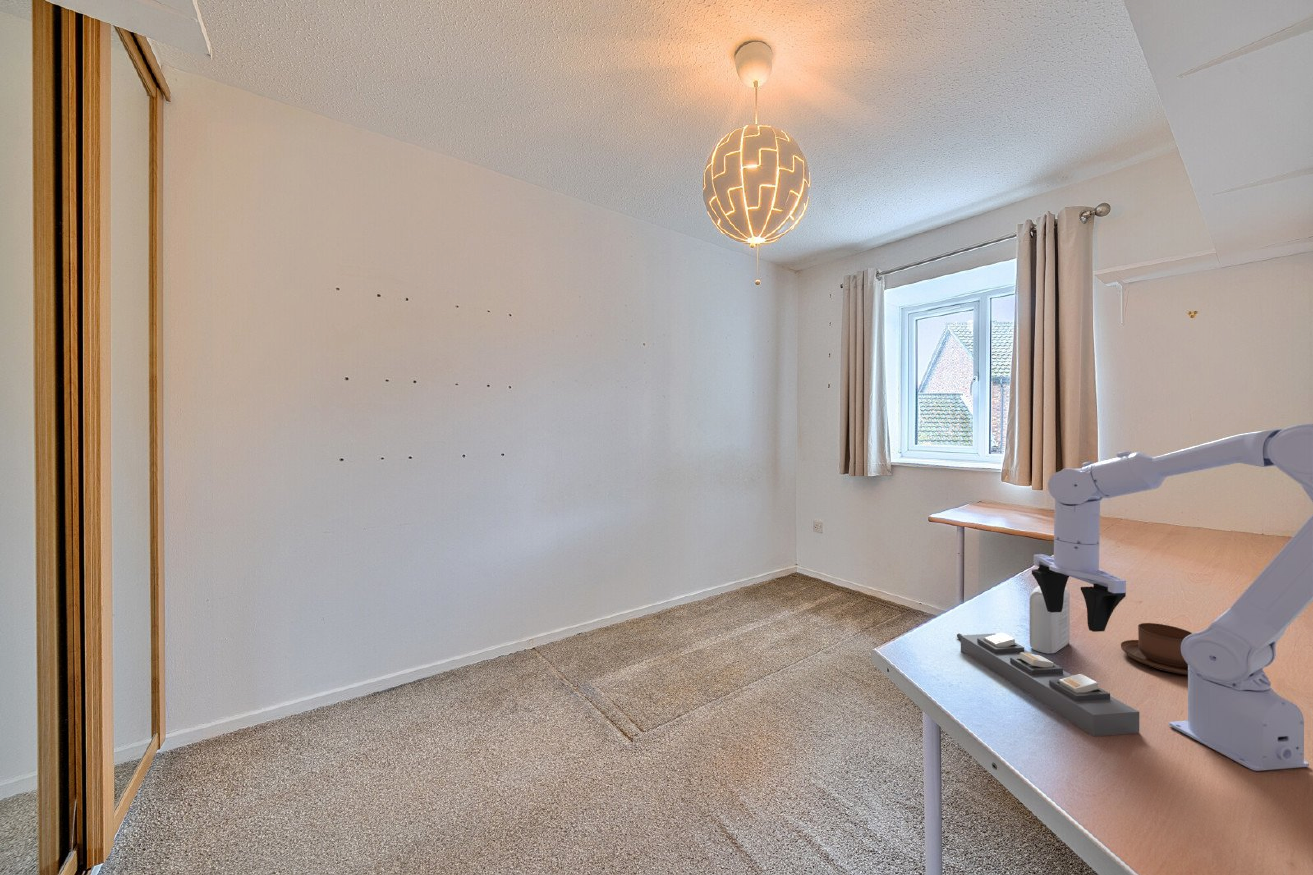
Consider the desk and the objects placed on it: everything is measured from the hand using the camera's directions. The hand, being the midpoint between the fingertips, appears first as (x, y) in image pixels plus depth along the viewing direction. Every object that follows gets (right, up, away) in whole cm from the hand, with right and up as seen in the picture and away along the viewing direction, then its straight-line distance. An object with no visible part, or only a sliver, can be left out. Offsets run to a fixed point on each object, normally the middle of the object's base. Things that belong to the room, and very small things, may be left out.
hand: (1074, 620), depth 81 cm
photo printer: (+7, -10, +14) cm, 19 cm away
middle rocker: (-7, -7, -1) cm, 10 cm away
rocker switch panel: (-7, -11, +2) cm, 13 cm away
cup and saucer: (+22, -10, +6) cm, 25 cm away
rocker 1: (-8, -7, +7) cm, 12 cm away
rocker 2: (-6, -7, -8) cm, 12 cm away
